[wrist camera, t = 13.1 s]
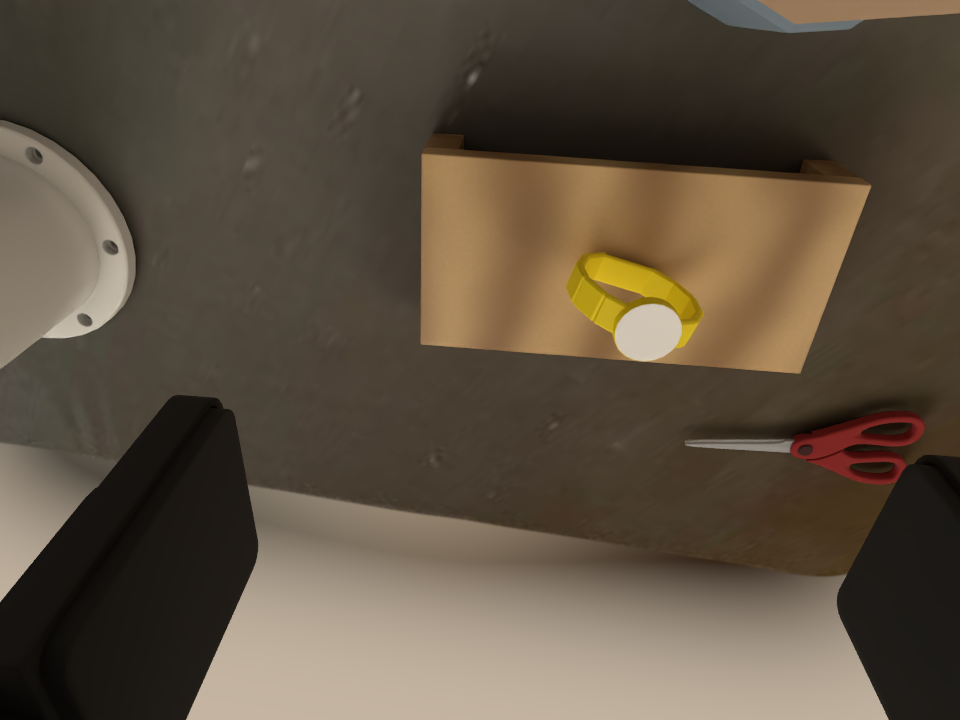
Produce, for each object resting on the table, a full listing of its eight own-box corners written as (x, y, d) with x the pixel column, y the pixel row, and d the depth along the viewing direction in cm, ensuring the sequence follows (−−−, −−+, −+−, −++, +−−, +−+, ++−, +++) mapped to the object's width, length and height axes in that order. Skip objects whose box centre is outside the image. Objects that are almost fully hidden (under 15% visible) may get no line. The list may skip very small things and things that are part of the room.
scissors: (894, 476, 42) (901, 487, 41) (676, 469, 43) (680, 480, 42) (923, 408, 39) (932, 419, 38) (689, 403, 40) (693, 412, 39)
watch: (556, 277, 32) (562, 338, 27) (579, 226, 30) (590, 280, 25) (668, 315, 32) (694, 381, 27) (695, 267, 31) (728, 327, 26)
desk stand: (429, 309, 38) (420, 344, 34) (432, 132, 32) (421, 153, 29) (775, 336, 37) (800, 374, 34) (835, 160, 32) (872, 185, 28)
